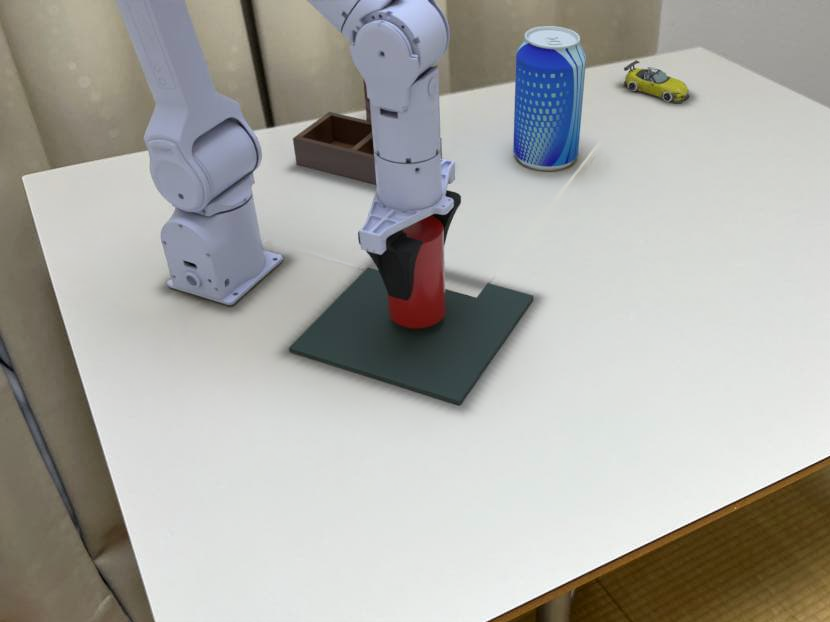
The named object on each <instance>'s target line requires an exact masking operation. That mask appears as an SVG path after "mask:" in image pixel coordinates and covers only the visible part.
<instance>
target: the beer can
mask: <svg viewBox="0 0 830 622" xmlns="http://www.w3.org/2000/svg"><path fill="white" fill-rule="evenodd" d="M586 66H587V56H586V53H585V51H584V49H583V47H582V45H581V36H580V34H579V33H577V32H576V31H574V30H572V29H569V28H566V27H563V26H555V25H544V26H536V27H533V28H530V29H528V30H527V31H526V32H525V33H524V39H523V41H522V42H521V44H520V46H519V47H518V48H517V50H516V55H515V79H514V80H515V82H514V83H515V84H514V113H513V114H514V116H513V145H512V147H513V148H512V152H513V154H514V157H516V158H517V160H518V162H520V164H522V165H524V166H526V167H528V168H530V169H534V170H537V171H559V170H562V169H565V168H567V167H569V166H570V165H571V164H572V163H573V162H574V161H575V160H576V159H577V158H578V156H579V150H580V149H579V147H580V138H581V137H580V135H581V124H582V114H583V113H582V111H583V102H584V101H583V100H584V91H585V90H584V89H585V78H586Z"/></svg>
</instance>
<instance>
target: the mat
mask: <svg viewBox="0 0 830 622" xmlns="http://www.w3.org/2000/svg"><path fill="white" fill-rule="evenodd" d="M533 301H534V295H533V294H529V293H525V292H523V291H522V292H521V291H519V290H515V289H511V288H507V287H504V286H500V285H497V284H493V283H490V282H489V283H488V282H487V283H486V285H485V286H484V287H483V288H482V290H481V291H480V292H479V294H478V295H477V296H473V295H468V294H465V293H462V292H458V291H454V290H451V289H447V288H445V303H446V312H445V315H444V317H443V319H442V320H441V321H439V322H438V323H436V324H434V325H432V326H429V327H425V328H407V327H404V326H401V325H399V324H397V323H395V322H394V321H393V320H392V319H391V317H390V315H389V310H388V297H387V290H386V287H385V284H384V282H383V279H382V277H381V274H380V272H379V270H378V269H376V268H372V267H367V268H366V269H365V270H363V272H362V273H361V274H360V275H359V276H358V277H356V279H354V281H353V282H352V283H351V284H350V285H349V286H348V287H347V288H346V289H345V290H344V291H343V292H342V293H341V294H340V295H339V296H338V297H336V299H335V300H334V301H333V302H332V303H331V304H330V305H329V306H328V307H327V308H326V309H325V310H324V311H323V312H322V313H321V314H320V315H319V316H318V317H317V318H316V319H315V320H314V321H313V323H311V325H310V326H309V327H308V328H307V329H306V330H304V331H303V332H302V334H301V335H300V336H299V337H297V339H295V340H294V342H293V343H292V344H291V345H290V346H289V347H288V352H289V353H291V354H295V355H299V356H301V357H305V358H309V359H310V360H315V361H318V362H320V363H324V364H327V365H330V366H334V367H337V368H340V369H343V370H347V371H350V372H353V373H357V374H360V375H363V376H366V377H368V378H373V379H376V380H378V381H382V382H385V383H389V384H391V385H394V386H398V387H400V388H403V389H407V390H410V391H413V392H417V393H420V394H424V395H426V396H430V397H432V398H433V397H434V398H437V399H439V400H443V401H445V402H449V403H452V404H454V405H455V404H456V405H461V404H462V402H463V401H464V399H466V396H467V395H468V394H469V393H470V391H471V390H472V388H473V387H474V385H475V384H476V383H477V381H478V380H479V378H480V377H481V375H482V374H483V372H484V371H485V370H486V368H487V367H488V365H489V364H490V362H491V361H492V360H493V358H494V356H495V355H496V353H497V352H498V351H499V349H500V348H501V346H502V345H503V344H504V342H505V341H506V340H507V338H508V336H509V335H510V333H511V332H512V331H513V329H514V327H515V326H516V325H517V323H518V322H519V321H520V319H521V318H522V316H523V315H524V313H525V312H526V311H527V309H528V308H529V307H530V305H531V303H532V302H533Z"/></svg>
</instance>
